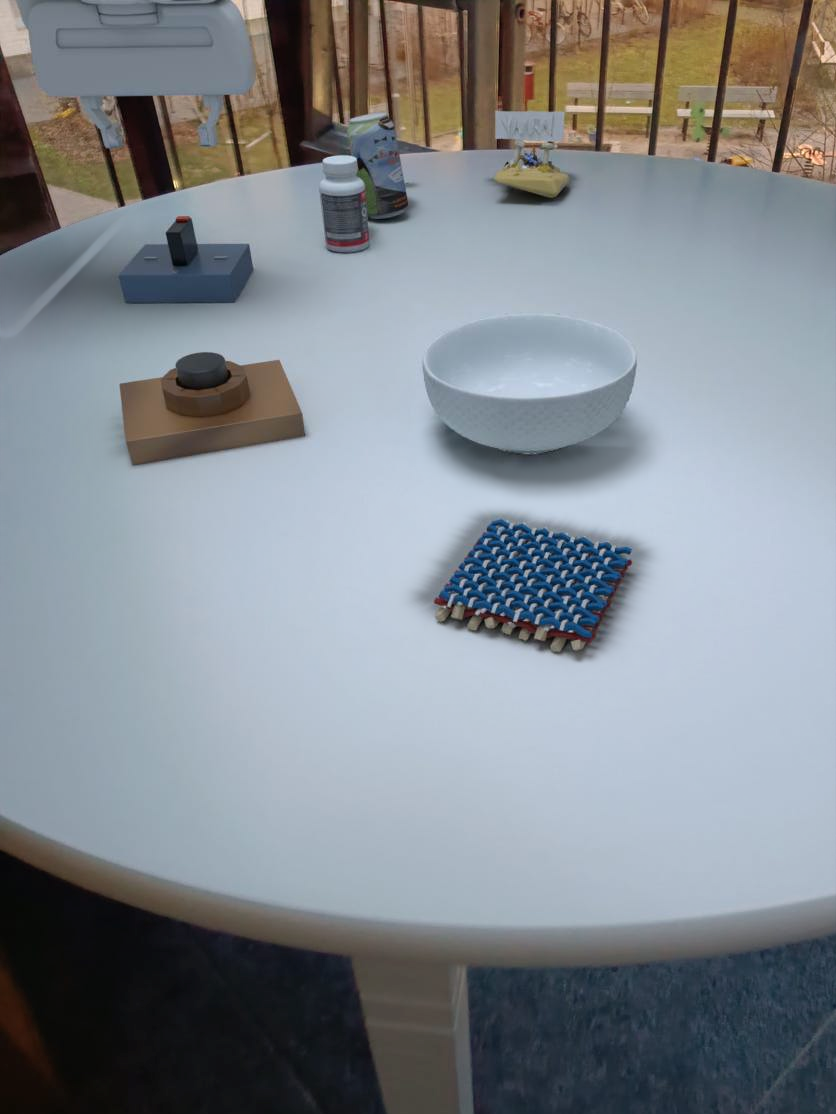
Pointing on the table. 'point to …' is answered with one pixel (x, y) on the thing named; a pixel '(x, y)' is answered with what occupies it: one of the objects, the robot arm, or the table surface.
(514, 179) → the miniature sign display
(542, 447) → the cereal bowl
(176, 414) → the button box
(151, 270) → the panel
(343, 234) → the pill bottle
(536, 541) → the woven mat
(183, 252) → the knob
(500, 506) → the table surface
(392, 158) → the beverage can
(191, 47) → the robot arm
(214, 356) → the button
